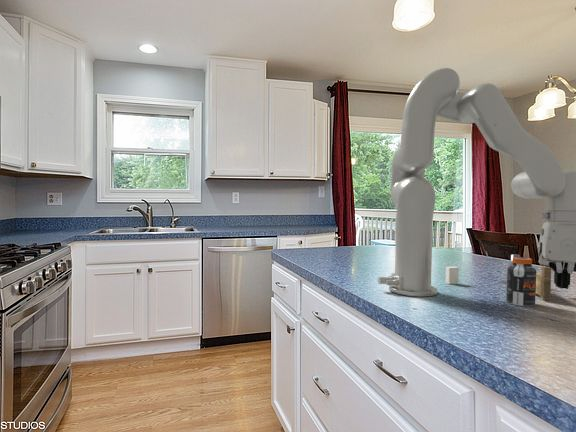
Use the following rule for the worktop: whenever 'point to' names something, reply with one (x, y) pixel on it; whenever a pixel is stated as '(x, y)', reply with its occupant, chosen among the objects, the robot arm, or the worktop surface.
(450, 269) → the block
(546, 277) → the gate
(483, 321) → the worktop surface
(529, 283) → the pill bottle
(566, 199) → the robot arm
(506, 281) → the hinge post
